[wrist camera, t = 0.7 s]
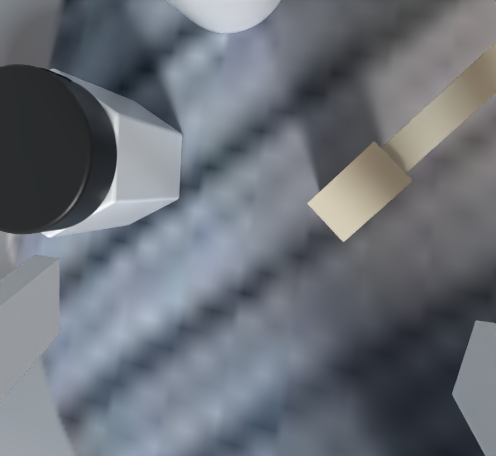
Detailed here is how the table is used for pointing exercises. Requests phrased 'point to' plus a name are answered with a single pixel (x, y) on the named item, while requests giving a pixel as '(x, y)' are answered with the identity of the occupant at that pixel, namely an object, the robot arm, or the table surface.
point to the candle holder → (225, 13)
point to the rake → (402, 152)
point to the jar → (79, 155)
